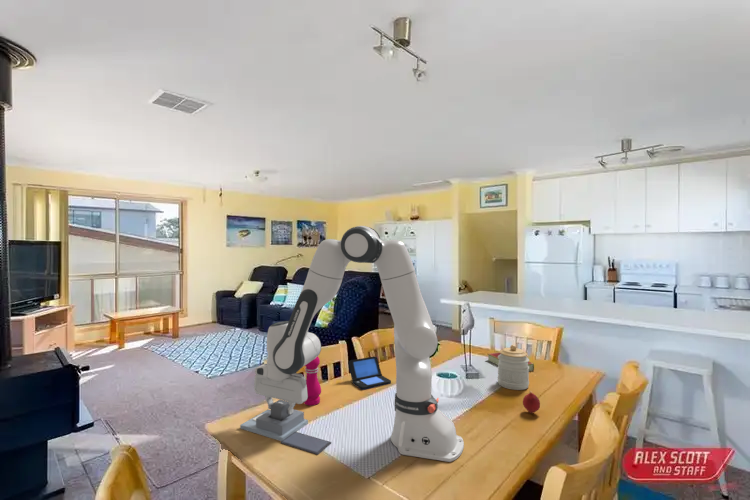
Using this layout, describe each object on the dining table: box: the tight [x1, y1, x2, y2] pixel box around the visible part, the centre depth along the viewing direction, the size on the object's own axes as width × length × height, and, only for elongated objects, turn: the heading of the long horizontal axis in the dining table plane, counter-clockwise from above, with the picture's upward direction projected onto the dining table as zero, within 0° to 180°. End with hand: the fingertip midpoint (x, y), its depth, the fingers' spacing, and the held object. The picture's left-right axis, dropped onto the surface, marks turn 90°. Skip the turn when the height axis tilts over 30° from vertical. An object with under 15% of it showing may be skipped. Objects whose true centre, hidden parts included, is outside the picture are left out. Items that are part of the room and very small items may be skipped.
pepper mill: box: [303, 355, 322, 406], centre depth 143 cm, size 7×7×20 cm
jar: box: [497, 344, 530, 391], centre depth 162 cm, size 13×13×18 cm
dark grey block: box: [270, 399, 290, 421], centre depth 123 cm, size 4×4×7 cm
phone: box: [280, 431, 332, 456], centre depth 114 cm, size 14×7×1 cm, turn 63°
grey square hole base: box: [239, 408, 309, 442], centre depth 125 cm, size 18×13×4 cm
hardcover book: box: [487, 351, 535, 372], centre depth 189 cm, size 12×21×4 cm, turn 19°
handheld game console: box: [347, 355, 392, 391], centre depth 165 cm, size 16×13×9 cm
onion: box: [522, 390, 541, 414], centre depth 135 cm, size 6×6×8 cm
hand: (280, 411), depth 123 cm, fingers open, 6 cm apart
